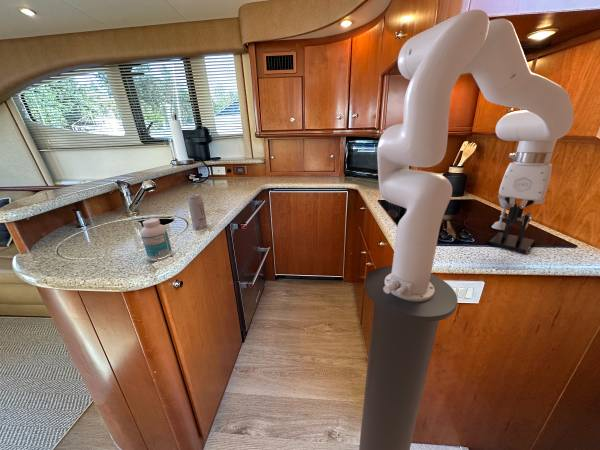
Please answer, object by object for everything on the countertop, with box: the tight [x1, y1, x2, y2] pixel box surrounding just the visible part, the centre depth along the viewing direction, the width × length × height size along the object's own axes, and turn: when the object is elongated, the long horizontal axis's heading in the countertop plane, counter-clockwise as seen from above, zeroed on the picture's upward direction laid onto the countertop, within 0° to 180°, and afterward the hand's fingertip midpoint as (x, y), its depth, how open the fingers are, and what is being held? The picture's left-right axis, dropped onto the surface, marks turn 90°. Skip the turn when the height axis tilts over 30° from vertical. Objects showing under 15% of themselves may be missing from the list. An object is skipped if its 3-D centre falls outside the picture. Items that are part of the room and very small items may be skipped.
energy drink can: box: [187, 193, 208, 230], centre depth 107 cm, size 6×6×15 cm
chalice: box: [491, 183, 519, 231], centre depth 95 cm, size 7×7×18 cm
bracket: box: [488, 211, 535, 255], centre depth 82 cm, size 12×10×12 cm
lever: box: [502, 213, 526, 227], centre depth 78 cm, size 12×5×2 cm, turn 129°
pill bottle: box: [140, 218, 173, 262], centre depth 80 cm, size 8×7×14 cm
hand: (513, 218), depth 74 cm, fingers closed
